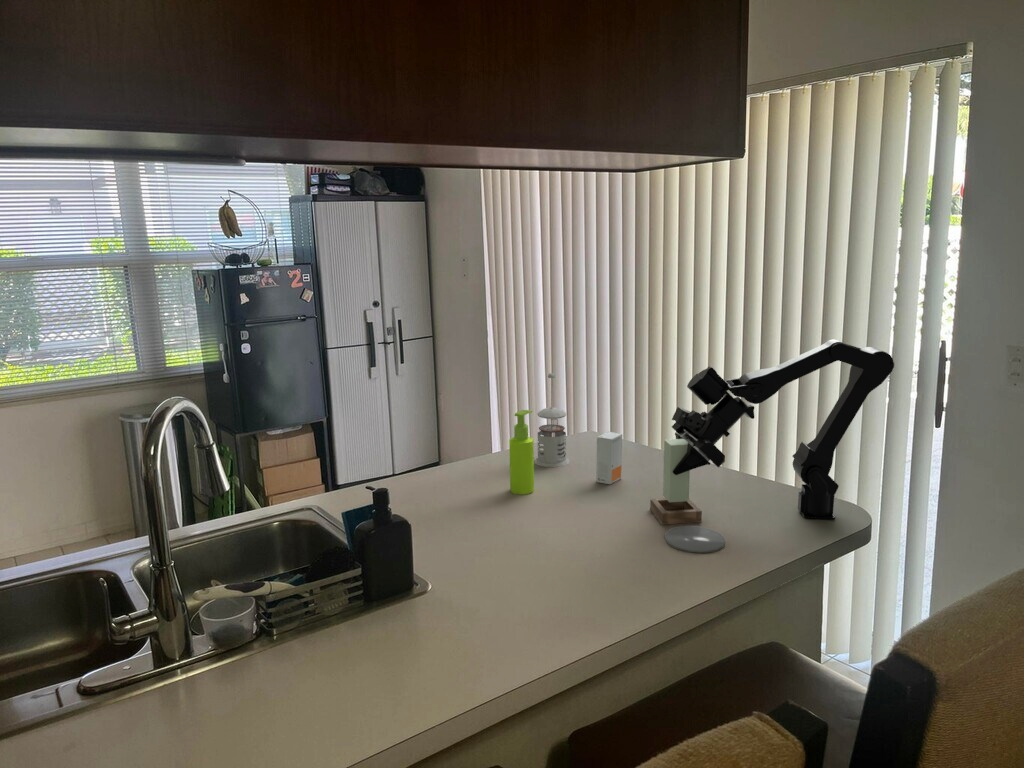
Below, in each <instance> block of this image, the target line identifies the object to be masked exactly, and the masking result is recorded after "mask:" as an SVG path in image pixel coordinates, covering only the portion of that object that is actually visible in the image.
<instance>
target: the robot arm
mask: <svg viewBox="0 0 1024 768" xmlns="http://www.w3.org/2000/svg"><path fill="white" fill-rule="evenodd" d="M838 361H839V362H842V363H844V364H847V365H851V366H850V367H849V369H850V370H849V374H848V375H849V376H848V382H847V384H846V385H845V388H844V389H843V391H842V393H840V396H839V397H838V399H837V401H836V402H835V404H834V405H833V407H832V409H831V411H830V413H829V414H828V416H827V417H826V420H825V421H824V422H823V423H822V424H823V425H822V426H821V428H820V429H819V431H818V433H817V434H816V435H815V438H814V439H813V440H811V441H810V442H809V443H806V442H804V441H801V442H800V443H799V446H798V449H797V451H795V453H794V454H793V455H792V458H793V460H792V467H793V470H794V472H795V473H796V474H797V476H798V477H799V478H800V479H801V481H802V482H803V483H804V484H803V483H802V484H801V490H799V491H798V495H797V497H798V498H797V499H798V500H797V509H798V511H799V512H800V514H801V515H802V517H803V518H805V519H814V520H815V519H816V520H817V519H819V520H820V519H821V520H835V519H836V516H835V515H834V508H835V507H834V506H835V504H834V502H835V495H836V493H837V491H838V489H839V487H840V486H839V484H838V483H837V482H836V480H834V479H833V478H832V477H831V476H830V475H829V474H830V472H831V469H832V466H833V461H834V454H835V450H836V449H837V447H838V445H839V444H840V442H841V440H842V438H844V437H843V436H844V435H845V434H846V432H847V430H848V428H850V427H849V426H851V424H852V422H853V420H854V418H855V417H856V415H857V414H858V412H859V411H860V409H861V407H862V405H863V404H864V402H865V401H866V399H867V397H868V395H870V393H871V392H873V391H874V390H875V389H877V388H878V387H879V386H880V385H882V384H883V383H884V382H885V380H886V379H887V378H888V377H889V376H890V374H892V372H893V370H894V368H895V362H894V359H893V357H892V356H891V354H889V352H886V351H883V350H881V349H879V348H876V347H873V346H866V347H863V348H860V347H857V346H854V345H852V344H847V343H844V342H842V341H840V340H837V339H829V340H827V341H826V342H825V343H823V344H820V345H819V346H816V347H814V348H812V349H810V350H807V351H806V352H803V353H802V354H801V353H800V354H799V355H797V356H795V357H793V358H791V359H789V360H787V361H784V362H781V363H780V364H778V365H775V366H772V367H766V368H761V369H757V370H754V371H750V372H746V373H744V374H743V375H741V376H740V377H737V378H731V379H724V378H723V377H721V375H720V374H718V372H717V371H716V370H715V368H714V367H712V365H709V366H707V368H706V369H703V370H701V371H700V372H699V373H698V372H697V373H696V374H695V375H694V376H693V377H692V378H691V379H690V380H689V382H688V383H687V386H686V387H687V389H689V390H690V392H692V393H693V394H694V395H695V397H697V398H698V400H700V401H701V402H702V403H704V404H705V405H707V406H708V405H711V406H713V407H712V408H711V409H710V410H709V411H708V412H707V411H702V412H698V411H695V410H693V409H692V410H691V411H689V410H687V409H684V408H682V407H680V406H677V407H676V410H675V412H674V413H673V415H672V418H671V421H675V422H674V424H673V425H671V429H673V431H675V432H674V435H675V439H685V440H686V441H687V442H688V448H687V453H686V454H685V456H684V457H683V458H682V459H681V461H680V462H679V463H678V465H677V466H676V467H675V469H674V470H673V473H674V474H675V475H678V474H681V473H684V472H686V471H689V470H690V471H691V470H694V469H697V468H700V467H704V466H706V465H709V466H710V465H711V462H712V464H713V465H714V466H716V467H717V468H720V467H721V466H722V465H723V464H724V463H725V462H726V455H725V454H724V453H723V452H722V451H721V450H720V449H719V448H718V447H717V446H716V443H717V442H718V441H719V440H721V438H723V436H725V437H726V438H728V437H729V435H731V433H730V432H729V430H730V429H731V428H732V427H733V426H734V425H735V424H736V423H737V422H738V421H739V420H741V418H742V417H743V416H744V415H745V417H748V418H749V419H752V420H753V419H755V406H754V405H758V404H762V403H763V402H764V403H765V401H767V400H768V399H769V398H772V397H773V396H774V395H775V394H777V393H778V392H779V390H781V389H782V388H783V387H785V386H786V385H787V384H789V383H791V382H792V383H793V382H794V381H795V380H798V379H801V378H803V377H804V376H807V375H809V374H811V373H813V372H815V371H818V370H820V369H821V368H824V367H827V366H828V365H830V364H833V363H834V362H835V363H836V362H838ZM728 391H729V392H730V393H731V394H732V395H733V396H735V397H733V396H732V395H731V394H730V393H729V392H728ZM742 398H743V399H744V400H745V401H747V402H748V403H751V404H753V405H751V404H747V403H745V402H744V401H743V399H742ZM710 461H711V462H710Z"/></svg>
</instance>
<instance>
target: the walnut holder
mask: <svg viewBox="0 0 1024 768" xmlns="http://www.w3.org/2000/svg"><path fill="white" fill-rule="evenodd" d="M649 504H650V505H649V510H650V511H651V512H652V514H654V516H655V517H656V519H657V520H658V521H659V523H660V524H661V525H670V524H671V525H673V524H676V525H677V524H691V523H701V522H702V515H703V511H702V509H701V508H700V507H699V506H697V505H696V503H694V502H693V500H692V499H691V498H689V501H683V502H669V501H668V500H667V499H666V498H665V497H661V498H658V497H657V498H650V503H649Z"/></svg>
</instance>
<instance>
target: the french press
mask: <svg viewBox="0 0 1024 768" xmlns="http://www.w3.org/2000/svg"><path fill="white" fill-rule="evenodd" d="M547 378H548V379H550V407H545V408H543V409H541V410H539V411H538V412H537V413H536V415H537V416H538V417H539V418H541V419H546V420H548V419H550V423H549V424H543V425H540V426H539V427H538V430H539V431H538V432H537V458H536V459H535V460H534V464H535V465H538V466H540V467H547V468H558V467H564V466H566V465H569V463H571V461H570V460H569V458H568V457H567V433H566V431H565V430H566V427H565V426H564V425H561V424H558V422H559V420H558V419H562V418H564V417H566V416H567V412H566V411H564V410H563V409H560V408H558V407H553V389H552V388H553V378H555V374H554V373H552V372H551V373H548V375H547ZM553 421H556V424H553ZM553 433H554V436H553ZM541 449H542V450H541Z"/></svg>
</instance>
